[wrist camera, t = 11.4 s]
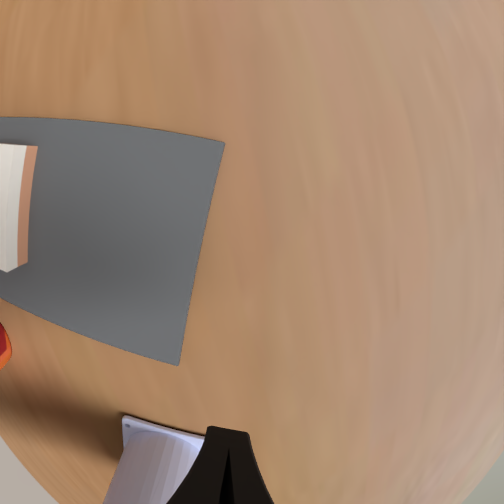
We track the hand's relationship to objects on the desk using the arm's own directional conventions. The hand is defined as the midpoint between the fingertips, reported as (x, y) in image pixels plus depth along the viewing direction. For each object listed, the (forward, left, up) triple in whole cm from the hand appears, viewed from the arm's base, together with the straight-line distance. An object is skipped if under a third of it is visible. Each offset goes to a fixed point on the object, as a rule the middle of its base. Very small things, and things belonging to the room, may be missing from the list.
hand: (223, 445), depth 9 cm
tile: (+4, +15, -8) cm, 18 cm away
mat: (+3, +13, -9) cm, 16 cm away
